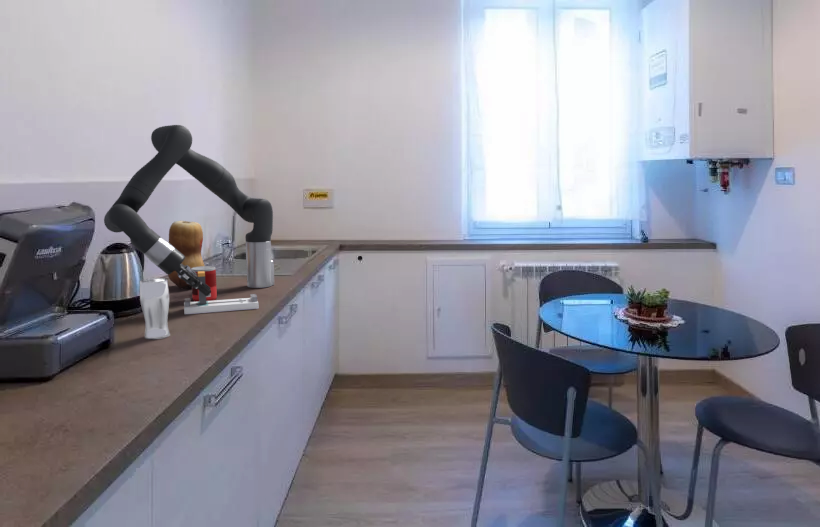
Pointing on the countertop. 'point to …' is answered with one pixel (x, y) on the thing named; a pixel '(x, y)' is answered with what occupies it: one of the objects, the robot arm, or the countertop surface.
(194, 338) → the countertop surface
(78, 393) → the countertop surface
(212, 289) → the canned food
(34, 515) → the countertop surface
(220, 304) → the white slider base
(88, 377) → the countertop surface
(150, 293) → the beer glass
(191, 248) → the butternut squash
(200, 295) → the post
